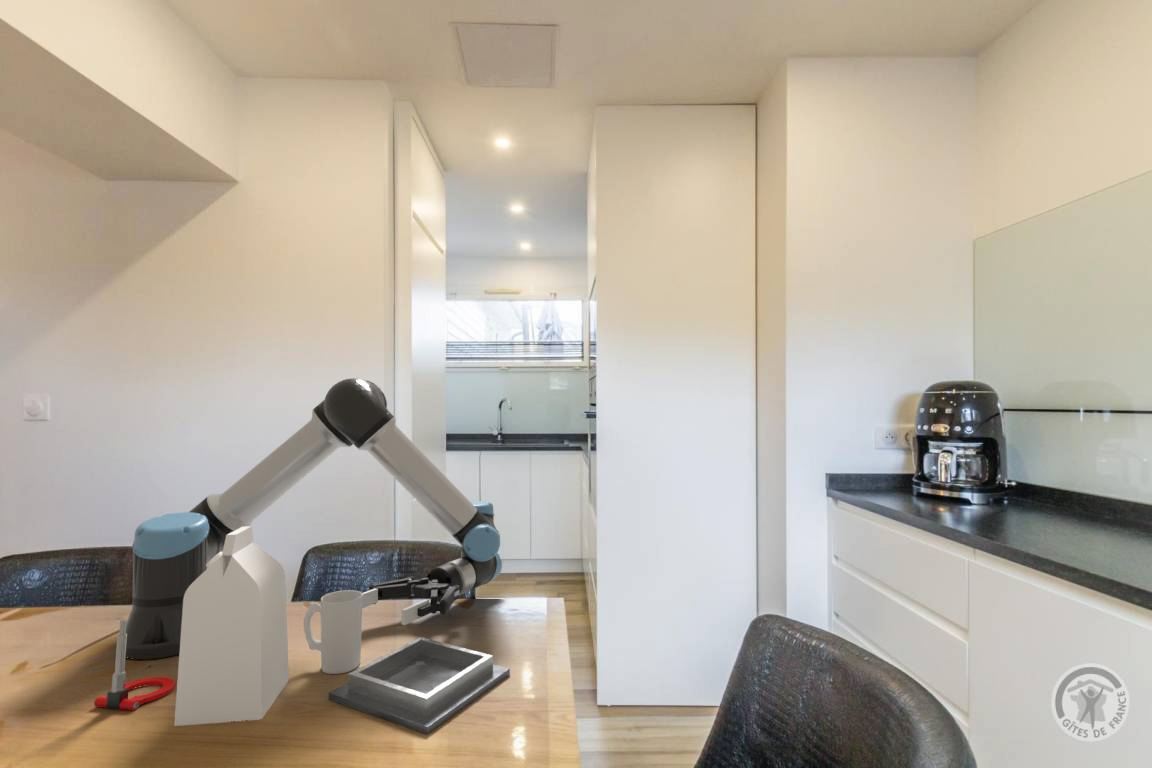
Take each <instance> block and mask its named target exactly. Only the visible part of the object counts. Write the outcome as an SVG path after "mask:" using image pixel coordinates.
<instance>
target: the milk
mask: <svg viewBox="0 0 1152 768" xmlns="http://www.w3.org/2000/svg"><path fill="white" fill-rule="evenodd" d="M253 534H254V533H253V527H252V526H245V527H241V528H239V529H237V530H235V531H233V532H231V533H229V534H227V535H226V539H225V543H224V548H223V552H222V551H221V552H219V553H218V554H217V555H215V556H214V557H213V558H212V559H211V560H210V561H209V562H208V563H207V564H206V566H207V567H208V568H207V570H206V571H204V572H203V573H202V574H201V575H200V576H199V577H198V578H197V579H196V580H195V581H194V582H193V583H192V584H191V585H190V586H189V587H188V589H187V590H186V592H185V594H184V599H183V611H182V625H181V639H180V653H179V654H178V655H179V657H178V667H177V669H178V670H177V672H178V673H177V682H176V694H175V695H176V696H175V710H174V711H175V712H174V724H173V725H174V727H178V726H179V727H180V726H192V725H205V724H206V725H207V724H218V723H219V724H222V723H231V721H232V723H233V721H235V722H246V721H245V720H248V721H258V720H259V721H261V720H263V718H264V717H265V715H266V714H267V713H268V711H269V710H270V708H271V707H272V705H273V704H274V702H275V701H276V699H277V698H278V697H279V695H280V694H281V693H282V691H283V690H284V688H285V686H286V685H287V684H288V682H289V681H290V669H289V667H290V666H289V641H288V616H287V615H288V614H287V611H288V610H287V590H286V573H285V569H284V567H283V565H282V564H281V563H280V562H279V561H278V560H277V559H275V558H274V557H273V556H272V555H270V554H269V553H268V552H267V551H265V550H264V549H263V548H262V547H261V546H260V545H258V544H257V543H256V542H254V535H253ZM260 719H261V720H260ZM242 720H243V721H242Z"/></svg>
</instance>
